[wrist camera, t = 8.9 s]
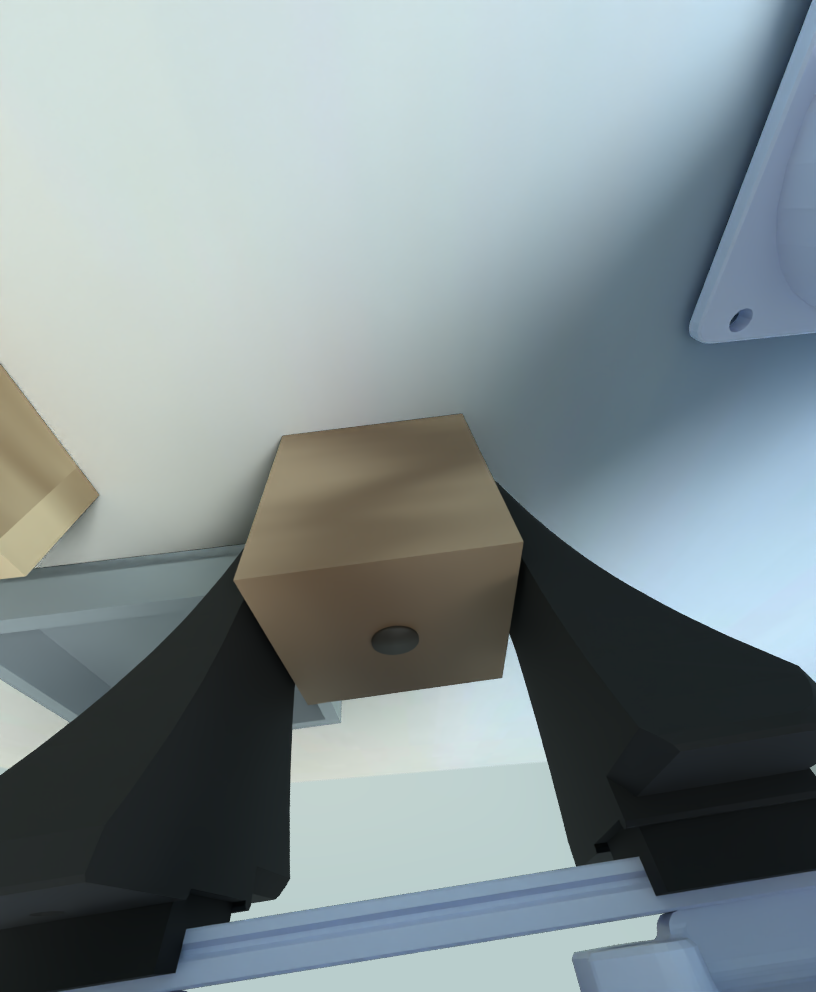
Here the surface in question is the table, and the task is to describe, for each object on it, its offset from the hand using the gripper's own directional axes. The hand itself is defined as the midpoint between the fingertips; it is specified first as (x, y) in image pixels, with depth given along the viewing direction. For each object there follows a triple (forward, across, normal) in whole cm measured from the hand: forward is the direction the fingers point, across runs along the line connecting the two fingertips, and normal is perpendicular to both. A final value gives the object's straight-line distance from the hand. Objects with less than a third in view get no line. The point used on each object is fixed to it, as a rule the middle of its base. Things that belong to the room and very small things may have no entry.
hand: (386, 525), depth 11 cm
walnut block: (+1, 0, 0) cm, 1 cm away
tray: (+1, +9, +6) cm, 11 cm away
